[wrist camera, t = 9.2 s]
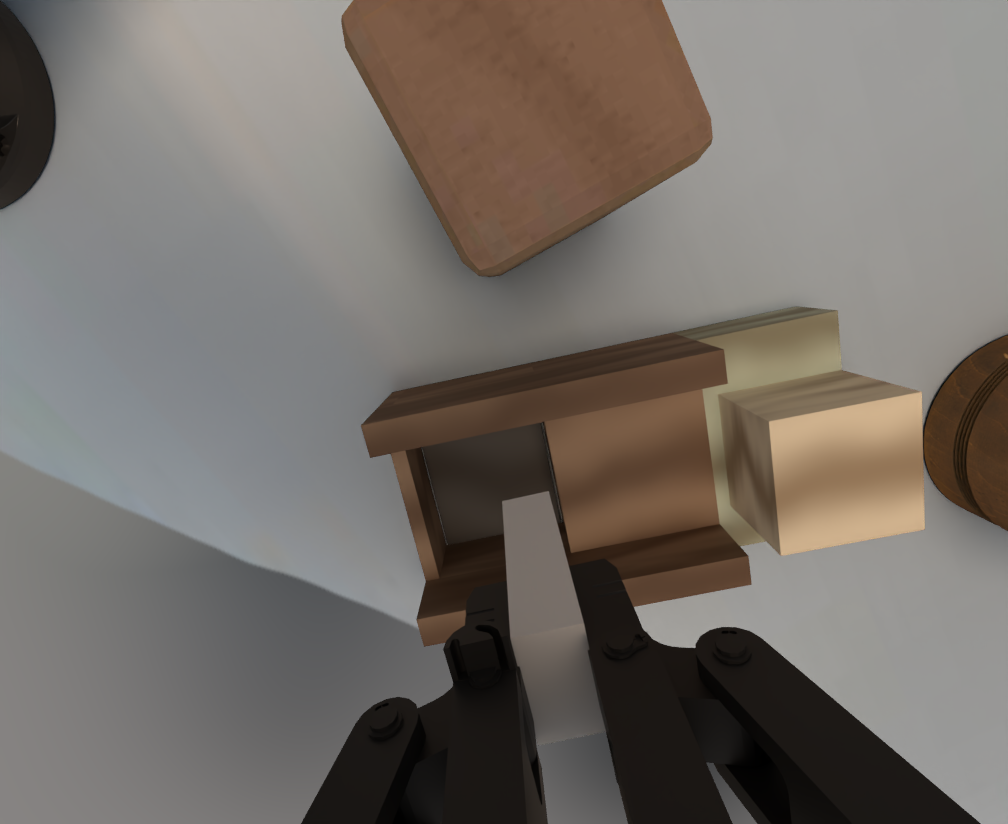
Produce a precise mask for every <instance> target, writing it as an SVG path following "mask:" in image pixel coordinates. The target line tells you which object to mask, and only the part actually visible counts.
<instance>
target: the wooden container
mask: <svg viewBox="0 0 1008 824" xmlns="http://www.w3.org/2000/svg"><path fill="white" fill-rule="evenodd" d="M924 455H925V461H926V465H927V469H928V471H929V474H930V476H931V478H932V480H933V482H934V483H935V485H936V486H937V488H938V489H939V490H940V491H941V492H942V493H943V494H944V495H945V496H946V497H947V498H948V499H949V500H950V501H952V502H953V503H955V504H956V505H958V506H960V507H962V508H964V509H965V510H967V511H969V512H971V513H973V514H975V515H977V516H979V517H981V518H983V519H985V520H987V521H989V522H991V523H993V524H996V525H998V526H1000V527H1001V528H1003V529H1005V530H1007V531H1008V335H1007V336H1004V337H1002V338H1000V339H998V340H996V341H993V342H991V343H989V344H988V345H986V346H985V347H983V348H981V349H979V350H978V351H976V352H975V353H974V354H972V355H971V356H970V357H969V358H967V359H966V360H965V361H964V362H963V363H962V364H961V365H960V366H959V367H958V368H957V369H956V370H955V371H954V372H953V373H952V375H951V376H950V377H949V378H948V379H947V381H946V382H945V383H944V385H943V386H942V388H941V389H940V391H939V393H938V395H937V396H936V398H935V400H934V402H933V405H932V407H931V409H930V412H929V415H928V418H927V421H926V425H925V430H924Z"/></svg>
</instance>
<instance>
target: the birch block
mask: <svg viewBox="0 0 1008 824" xmlns="http://www.w3.org/2000/svg"><path fill="white" fill-rule="evenodd" d="M718 400H719V409H720V418H721V426H722V435H723V444H724V453H725V462H726V471H727V479H728V488H729V497H730V506H731V507H732V508H733V509H734V510H735V511H736V512H737V513H738V514H739V515H740V516H741V517H742V518H743V519H744V520H745V521H746V522H747V523H748V524H749V525H750V526H751V527H752V528H753V529H754V530H755V531H756V532H757V533H759V534H760V535H761V536H762V537H763V538H764V539H765V540H766V541H767V542H768V543H769V544H770V545H771V546H772V547H773V548H774V549H775V550H776V551H777V552H778V553H779V554H780V555H781V556H783V555H789V554H794V553H799V552H805V551H810V550H816V549H821V548H827V547H832V546H838V545H843V544H848V543H854V542H859V541H865V540H870V539H876V538H881V537H886V536H892V535H897V534H903V533H908V532H914V531H919V530H925V521H924V476H923V430H922V392H921V391H917V390H913V389H909V388H906V387H902V386H898V385H895V384H891V383H887V382H883V381H880V380H876V379H872V378H869V377H865V376H861V375H857V374H854V373H850V372H846V371H843V370H838V371H833V372H828V373H823V374H818V375H813V376H808V377H803V378H798V379H793V380H788V381H783V382H778V383H773V384H768V385H762V386H757V387H752V388H747V389H742V390H737V391H732V392H727V393H722V394H718Z"/></svg>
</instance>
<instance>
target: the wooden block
mask: <svg viewBox="0 0 1008 824" xmlns="http://www.w3.org/2000/svg"><path fill="white" fill-rule="evenodd" d="M341 22H342V29H343V35H344V41H345V48H346V49H347V51H348V53H349V55H350V57H351V59H352V60H353V62H354V64H355V66H356V68H357V70H358V71H359V73H360V75H361V77H362V79H363V81H364V82H365V84H366V86H367V88H368V90H369V92H370V93H371V95H372V97H373V99H374V101H375V103H376V104H377V106H378V108H379V110H380V112H381V114H382V115H383V117H384V119H385V121H386V123H387V125H388V126H389V128H390V130H391V132H392V134H393V136H394V137H395V139H396V141H397V143H398V145H399V147H400V148H401V150H402V152H403V154H404V156H405V158H406V159H407V161H408V163H409V165H410V167H411V169H412V170H413V172H414V174H415V176H416V178H417V180H418V181H419V183H420V185H421V187H422V189H423V191H424V192H425V194H426V196H427V198H428V200H429V202H430V203H431V205H432V207H433V209H434V211H435V213H436V214H437V216H438V218H439V220H440V222H441V224H442V225H443V227H444V229H445V231H446V233H447V235H448V236H449V238H450V240H451V242H452V244H453V246H454V247H455V249H456V251H457V253H458V255H459V257H460V258H461V260H462V262H463V263H464V264H465V265H467V266H468V267H469V268H470V269H472V270H473V271H474V272H475V273H476V274H478V275H479V276H487V277H492V276H500V275H502V274H504V273H506V272H507V271H509V270H511V269H513V268H514V267H516V266H518V265H520V264H522V263H523V262H525V261H527V260H529V259H530V258H532V257H534V256H536V255H538V254H539V253H541V252H543V251H545V250H546V249H548V248H550V247H552V246H553V245H555V244H557V243H559V242H561V241H562V240H564V239H566V238H568V237H569V236H571V235H573V234H575V233H576V232H578V231H580V230H582V229H584V228H585V227H587V226H589V225H591V224H592V223H594V222H596V221H598V220H599V219H601V218H603V217H605V216H606V215H608V214H610V213H611V212H613V211H615V210H616V209H618V208H620V207H621V206H623V205H625V204H626V203H628V202H630V201H632V200H633V199H635V198H637V197H638V196H640V195H642V194H643V193H645V192H647V191H648V190H650V189H652V188H653V187H655V186H657V185H658V184H660V183H662V182H663V181H665V180H667V179H668V178H670V177H672V176H673V175H675V174H677V173H678V172H680V171H682V170H683V169H685V168H687V167H688V166H690V165H692V164H693V163H695V162H697V160H698V159H699V158H700V157H701V155H702V154H703V153H704V152H705V151H706V149H707V148H708V147H709V146H710V145H711V143H712V138H713V137H712V127H711V118H710V116H709V113H708V111H707V108H706V106H705V104H704V101H703V99H702V96H701V94H700V92H699V89H698V87H697V84H696V82H695V79H694V77H693V75H692V72H691V70H690V67H689V65H688V63H687V60H686V58H685V55H684V53H683V51H682V48H681V46H680V43H679V41H678V39H677V36H676V34H675V31H674V29H673V26H672V24H671V22H670V19H669V17H668V14H667V12H666V10H665V7H664V5H663V2H662V0H353V2H352V3H351V4H350V6H349V7H348V8H347V10H346V11H345V12H344V14H343V15H342V21H341Z"/></svg>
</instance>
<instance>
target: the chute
mask: <svg viewBox="0 0 1008 824" xmlns="http://www.w3.org/2000/svg"><path fill="white" fill-rule="evenodd" d="M838 370H842V369H841V354H840V339H839V324H838V311H837V310H827V309H816V308H806V307H792V308H787V309H782V310H778V311H773V312H768V313H763V314H759V315H754V316H749V317H745V318H740V319H735V320H730V321H726V322H721V323H716V324H712V325H707V326H702V327H697V328H693V329H688V330H683V331H679V332H674V333H669V334H664V335H660V336H655V337H650V338H646V339H641V340H636V341H631V342H627V343H622V344H617V345H613V346H608V347H603V348H598V349H594V350H589V351H584V352H580V353H575V354H570V355H565V356H561V357H556V358H551V359H547V360H542V361H537V362H533V363H528V364H523V365H518V366H514V367H509V368H504V369H500V370H495V371H490V372H485V373H481V374H476V375H471V376H467V377H462V378H457V379H452V380H448V381H443V382H438V383H434V384H429V385H424V386H419V387H415V388H410V389H405V390H401V391H396V392H392V393H391V395H390V396H389V397H388V398H387V399H386V400H385V401H384V402H383V403H382V404H381V405H380V406H379V407H378V408H377V409H376V410H375V411H374V412H373V413H372V414H371V416H370V417H369V418H368V419H367V420H366V421H365V422H364V423H363V424H362V425H361V427H362V431H363V434H364V438H365V441H366V445H367V448H368V452H369V455H370V458H372V457H376V456H381V455H386V454H391V456H392V460H393V463H394V467H395V471H396V474H397V478H398V482H399V485H400V489H401V492H402V496H403V500H404V503H405V507H406V511H407V514H408V518H409V521H410V525H411V529H412V532H413V536H414V540H415V543H416V547H417V550H418V554H419V558H420V561H421V565H422V569H423V572H424V576H425V579H426V583H425V587H424V591H423V596H422V600H421V604H420V608H419V612H418V616H417V623H418V627H419V630H420V634H421V637H422V641H423V644H424V646H430V645H434V644H440V643H446V641H447V639H448V638H449V637H450V636H451V635H452V634H453V633H454V632H455V631H456V630H458V629H460V628H461V627H463V626H465V617H466V601H467V599H468V598H469V596H470V594H471V593H472V591H473V590H474V588H475V587H480V586H484V585H489V584H494V583H498V582H503V581H507V573H506V557H505V540H504V523H503V506H502V501H505V500H510V499H514V498H519V497H524V496H528V495H533V494H537V493H542V492H546V491H549V495H550V498H551V502H552V506H553V509H554V513H555V517H556V521H557V524H558V528H559V532H560V536H561V539H562V543H563V547H564V551H565V554H566V558H567V562H568V566H571V565H576V564H581V563H585V562H590V561H595V560H599V559H604V558H605V559H606V560H607V561H609V562H610V563H611V564H613V565H614V566H615V567H617V569H618V572H619V574H620V577H621V579H622V582H623V584H624V586H625V588H626V592H627V593H628V595H629V598H630V600H631V602H632V605H633V607H635V606H640V605H646V604H651V603H656V602H661V601H667V600H672V599H677V598H683V597H688V596H693V595H698V594H704V593H709V592H714V591H719V590H725V589H730V588H735V587H740V586H746V585H751V575H750V567H749V558H748V555H747V554H746V553H745V552H744V551H743V549H742V548H741V547H740V546H744V545H749V544H754V543H759V542H765V541H766V540H765V539H764V538H763V537H762V536H761V535H760V534H759V533H757V532H756V531H755V530H754V529H753V528H752V527H751V526H750V525H749V524H748V523H747V522H746V521H745V520H744V519H743V518H742V517H741V516H740V515H739V514H738V513H737V512H736V511H735V510H734V509H733V508H732V507H731V506H730V497H729V488H728V479H727V471H726V462H725V453H724V444H723V435H722V426H721V418H720V409H719V400H718V394H722V393H727V392H732V391H737V390H742V389H747V388H752V387H757V386H762V385H768V384H773V383H778V382H783V381H788V380H793V379H798V378H803V377H808V376H813V375H818V374H823V373H828V372H833V371H838ZM541 422H543V425H544V430H545V435H546V440H547V445H548V450H549V455H550V459H551V464H552V469H553V474H554V479H555V484H556V489H557V494H558V499H559V504H560V509H561V514H562V519H563V522H561V521H560V516H559V511H558V506H557V501H556V497H555V492H554V487H553V482H552V477H551V472H550V467H549V462H548V457H547V452H546V448H545V443H544V438H543V433H542V428H541ZM421 447H423V451H424V455H425V459H426V463H427V467H428V470H429V474H430V478H431V482H432V486H433V490H434V493H435V497H436V501H437V505H438V509H439V513H440V516H441V520H442V524H443V528H444V532H445V536H446V540H447V543H448V545H446V541H445V537H444V534H443V530H442V526H441V522H440V518H439V515H438V511H437V507H436V503H435V499H434V495H433V492H432V488H431V484H430V480H429V476H428V472H427V469H426V465H425V461H424V457H423V453H422V449H421ZM500 534H501V535H500ZM495 535H496V536H495ZM490 536H491V537H490ZM485 537H486V538H485ZM480 538H481V539H480ZM475 539H476V540H475ZM470 540H471V541H470Z"/></svg>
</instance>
